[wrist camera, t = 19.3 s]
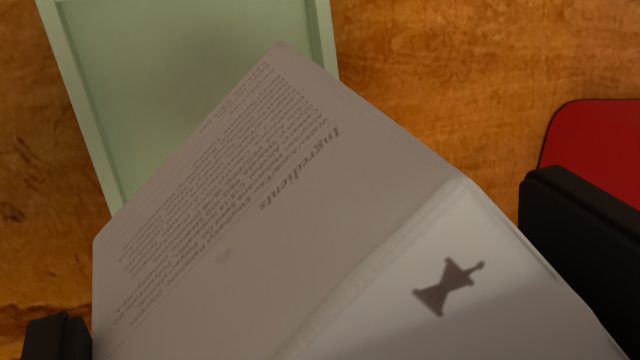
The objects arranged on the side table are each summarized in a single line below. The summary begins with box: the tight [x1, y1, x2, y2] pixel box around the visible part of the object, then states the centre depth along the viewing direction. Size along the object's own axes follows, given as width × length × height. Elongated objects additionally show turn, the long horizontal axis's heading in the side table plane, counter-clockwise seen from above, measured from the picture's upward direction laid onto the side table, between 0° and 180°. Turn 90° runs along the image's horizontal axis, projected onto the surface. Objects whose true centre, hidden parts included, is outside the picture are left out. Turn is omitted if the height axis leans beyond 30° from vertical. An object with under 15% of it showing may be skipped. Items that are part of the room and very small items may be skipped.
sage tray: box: [35, 0, 339, 218], centre depth 23 cm, size 10×10×2 cm
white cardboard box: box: [92, 41, 630, 360], centre depth 11 cm, size 6×6×7 cm
